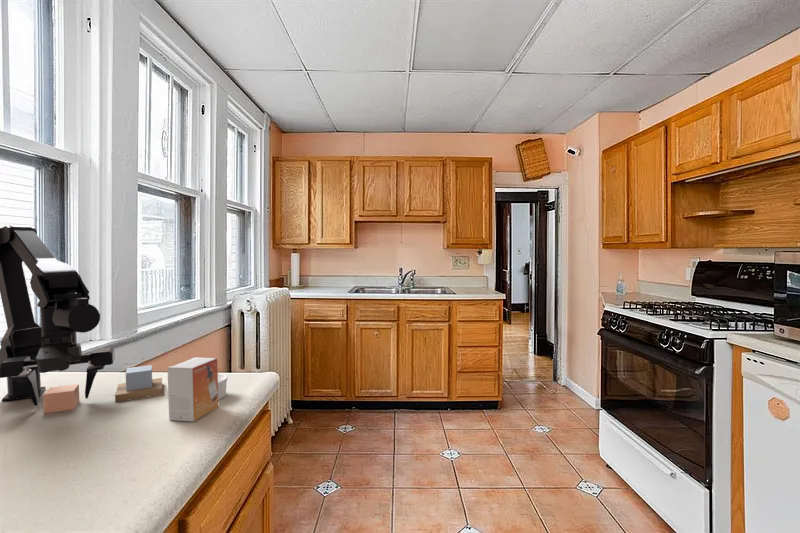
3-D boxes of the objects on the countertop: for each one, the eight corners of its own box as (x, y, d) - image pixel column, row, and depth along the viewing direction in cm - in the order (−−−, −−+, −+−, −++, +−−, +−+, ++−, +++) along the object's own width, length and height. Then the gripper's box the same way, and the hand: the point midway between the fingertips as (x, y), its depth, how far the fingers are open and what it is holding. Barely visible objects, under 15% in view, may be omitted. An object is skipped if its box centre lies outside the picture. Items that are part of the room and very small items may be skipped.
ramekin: (197, 408, 89) (196, 388, 89) (176, 399, 94) (175, 380, 94) (235, 396, 96) (235, 377, 96) (214, 389, 101) (214, 371, 101)
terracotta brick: (50, 406, 91) (50, 387, 91) (79, 401, 94) (78, 383, 93) (44, 413, 87) (43, 394, 87) (74, 409, 89) (73, 390, 89)
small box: (193, 422, 81) (191, 368, 81) (168, 420, 82) (166, 367, 82) (219, 407, 89) (218, 357, 89) (196, 405, 90) (194, 356, 90)
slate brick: (127, 385, 100) (126, 368, 100) (152, 381, 102) (151, 365, 102) (126, 391, 95) (125, 373, 95) (152, 387, 98) (151, 370, 98)
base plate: (118, 390, 101) (118, 384, 100) (162, 383, 105) (161, 377, 105) (115, 402, 93) (115, 395, 93) (162, 394, 97) (162, 388, 97)
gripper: (-15, 340, 78) (-10, 424, 79) (108, 330, 87) (111, 405, 88) (4, 331, 88) (8, 405, 88) (113, 322, 97) (116, 390, 97)
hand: (62, 401), depth 90 cm, fingers open, 8 cm apart
